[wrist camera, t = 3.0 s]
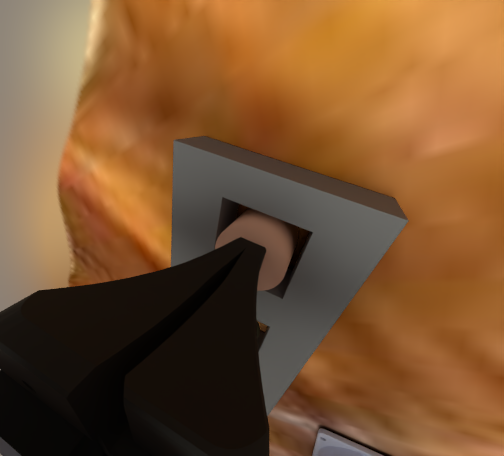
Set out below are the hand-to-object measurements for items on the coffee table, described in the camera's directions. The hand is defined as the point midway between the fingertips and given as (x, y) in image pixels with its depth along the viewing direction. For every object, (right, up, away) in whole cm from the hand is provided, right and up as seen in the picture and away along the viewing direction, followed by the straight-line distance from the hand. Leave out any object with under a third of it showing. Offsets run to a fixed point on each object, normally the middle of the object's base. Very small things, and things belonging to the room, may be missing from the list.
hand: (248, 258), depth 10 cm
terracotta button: (+1, +1, +2) cm, 3 cm away
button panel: (0, -4, +6) cm, 8 cm away
